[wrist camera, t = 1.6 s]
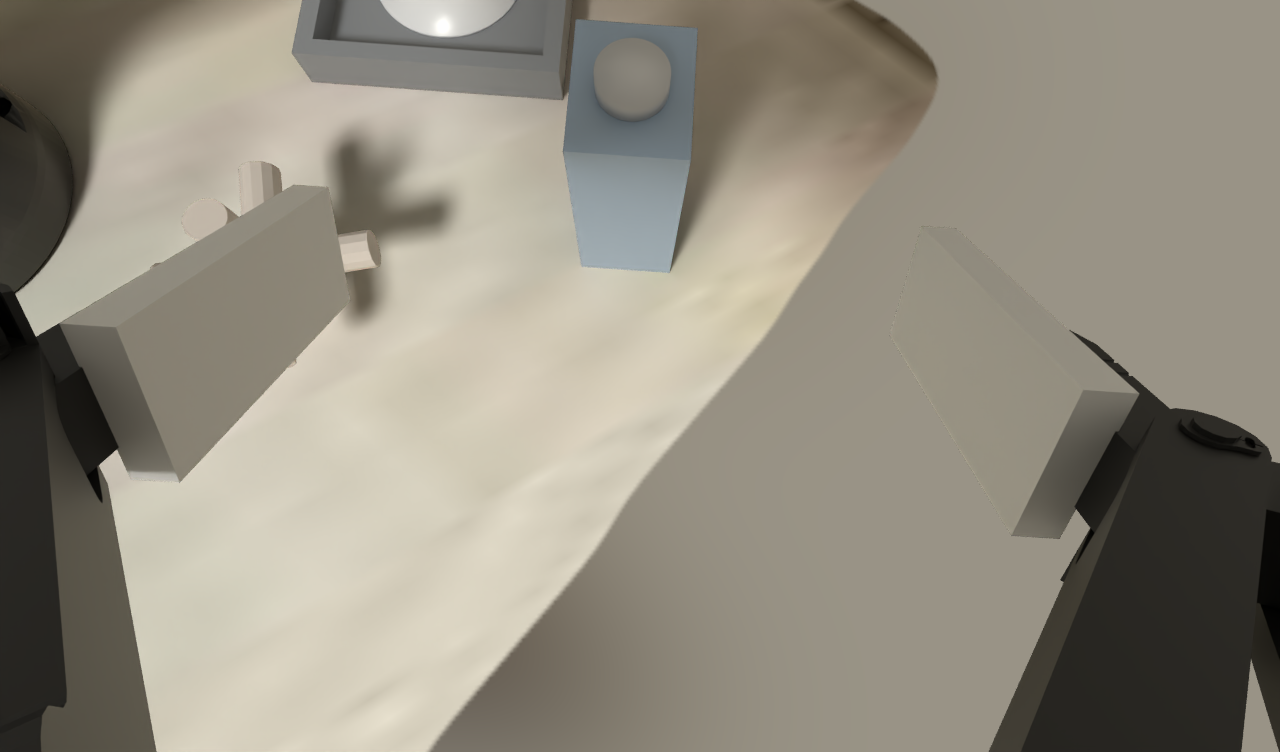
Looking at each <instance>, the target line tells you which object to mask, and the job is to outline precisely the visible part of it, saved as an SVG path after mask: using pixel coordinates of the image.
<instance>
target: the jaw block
mask: <svg viewBox="0 0 1280 752" xmlns="http://www.w3.org/2000/svg"><path fill="white" fill-rule="evenodd" d="M697 31H698V28H690V27H676V26H662V25H649V24H635V23H621V22H608V21H594V20H580V19H576V23H575V33H574V44H573V54H572V64H571V75H570V85H569V95H568V106H567V116H566V126H565V136H564V147H563V154H564V160H565V167H566V173H567V179H568V185H569V191H570V197H571V204H572V210H573V216H574V222H575V228H576V234H577V241H578V247H579V253H580V259H581V265H582V267H595V268H609V269H624V270H638V271H653V272H667V273H670V268H671V262H672V257H673V252H674V247H675V241H676V236H677V231H678V226H679V220H680V215H681V210H682V205H683V199H684V194H685V189H686V184H687V178H688V173H689V168H690V163H691V149H692V129H693V109H694V90H695V70H696V51H697Z"/></svg>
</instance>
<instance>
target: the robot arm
mask: <svg viewBox="0 0 1280 752" xmlns="http://www.w3.org/2000/svg"><path fill="white" fill-rule="evenodd" d="M71 197H72V170H71V164H70V159H69V156H68V152H67V150H66V147H65V145H64V142H63V141H62V139H61V137H60V135H59V133H58V132H57V130H56V129H55V127H54V126H53V125H52V124H51V122H50V121H49V120H48V119H47V118H46V117H45V116H44V115H43V114H42V113H41V112H40V111H38V110H37V109H36V108H35V107H33V106H32V105H31V104H29V103H28V102H26V101H25V100H23V99H22V98H20V97H19V96H18V95H16V94H15V93H13V92H12V91H10V90H9V89H8V88H6V87H5V86H3V85H2V84H0V752H156V747H155V741H154V736H153V730H152V725H151V719H150V714H149V708H148V703H147V697H146V692H145V686H144V681H143V675H142V670H141V664H140V659H139V653H138V648H137V642H136V637H135V631H134V626H133V620H132V615H131V609H130V604H129V598H128V593H127V587H126V582H125V576H124V571H123V565H122V560H121V554H120V549H119V543H118V538H117V532H116V527H115V521H114V516H113V510H112V505H111V499H110V494H109V488H108V484H107V482H106V480H105V478H104V476H103V474H102V471H101V469H100V467H99V465H100V464H101V463H102V462H103V461H104V460H105V459H106V458H107V457H109V456H110V455H111V454H112V453H113V452H114V451H115V450H116V449H117V450H118V452H119V454H120V457H121V459H122V461H123V463H124V465H125V467H126V470H127V472H128V474H129V476H130V478H131V479H132V480H148V481H164V482H179V483H180V482H181V481H182V480H183V479H184V477H185V476H186V475H187V474H188V473H189V472H190V471H191V470H192V469H193V468H194V467H195V466H196V465H197V464H198V463H199V461H200V460H201V459H202V458H203V457H204V456H205V455H206V454H207V453H208V452H209V451H210V450H211V449H212V448H213V447H214V445H215V444H216V443H217V442H218V441H219V440H220V439H221V438H222V437H223V436H224V435H225V434H226V433H227V432H228V431H229V429H230V428H231V427H232V426H233V425H234V424H235V423H236V422H237V421H238V420H239V419H240V418H241V417H242V416H243V415H244V413H245V412H246V411H247V410H248V409H249V408H250V407H251V406H252V405H253V404H254V403H255V402H256V401H257V400H258V399H259V397H260V396H261V395H262V394H263V393H264V392H265V391H266V390H267V389H268V388H269V387H270V386H271V385H272V384H273V383H274V381H275V380H276V379H277V378H278V377H279V376H280V375H281V374H282V373H283V372H284V371H285V370H286V369H287V368H288V367H289V365H290V364H291V363H292V362H293V361H294V360H295V359H296V358H297V357H298V356H299V355H300V354H301V353H302V352H303V350H304V349H305V348H306V347H307V346H308V345H309V344H310V343H311V342H312V341H313V340H314V339H315V338H316V337H317V336H318V334H319V333H320V332H321V331H322V330H323V329H324V328H325V327H326V326H327V325H328V324H329V323H330V322H331V321H332V320H333V318H334V317H335V316H336V315H337V314H338V313H339V312H340V311H341V310H342V309H343V308H344V307H345V306H346V305H347V304H348V302H349V301H350V296H349V291H348V286H347V280H346V275H345V270H344V265H343V260H342V255H341V249H340V244H339V239H338V234H337V229H336V224H335V218H334V213H333V208H332V203H331V198H330V193H329V188H328V187H320V186H305V185H292V186H291V187H289V188H287V189H286V190H284V191H282V192H281V193H279V194H277V195H275V196H274V197H272V198H270V199H269V200H267V201H265V202H264V203H262V204H260V205H259V206H257V207H255V208H254V209H252V210H250V211H248V212H247V213H245V214H243V215H242V216H240V217H238V218H237V219H235V220H233V221H232V222H230V223H228V224H226V225H225V226H223V227H221V228H220V229H218V230H216V231H215V232H213V233H211V234H210V235H208V236H206V237H204V238H203V239H201V240H199V241H198V242H196V243H194V244H193V245H191V246H189V247H188V248H186V249H184V250H183V251H181V252H179V253H177V254H176V255H174V256H172V257H171V258H169V259H167V260H166V261H164V262H162V263H161V264H159V265H157V266H155V267H154V268H152V269H150V270H149V271H147V272H145V273H144V274H142V275H140V276H139V277H137V278H135V279H133V280H132V281H130V282H128V283H126V284H125V285H123V286H121V287H120V288H118V289H116V290H115V291H113V292H111V293H110V294H108V295H106V296H105V297H103V298H101V299H99V300H98V301H96V302H94V303H93V304H91V305H89V306H88V307H86V308H84V309H83V310H81V311H79V312H77V313H76V314H74V315H72V316H71V317H69V318H67V319H66V320H64V321H62V322H61V323H59V324H57V325H55V326H54V327H52V328H50V329H49V330H47V331H45V332H44V333H42V334H40V335H39V336H37V337H36V336H35V334H34V332H33V330H32V328H31V326H30V324H29V322H28V320H27V318H26V316H25V314H24V312H23V310H22V308H21V306H20V304H19V302H18V299H17V297H16V295H15V293H14V292H15V291H16V290H17V289H19V288H20V287H21V286H22V285H23V284H24V283H25V282H26V281H27V280H28V279H29V278H30V277H31V276H32V275H33V274H34V273H35V272H36V271H37V270H38V268H39V267H40V266H41V265H42V264H43V262H44V261H45V260H46V258H47V257H48V255H49V254H50V252H51V251H52V249H53V248H54V246H55V244H56V242H57V241H58V239H59V236H60V234H61V232H62V230H63V227H64V225H65V222H66V219H67V216H68V213H69V208H70V204H71ZM890 337H891V339H892V340H893V342H894V344H895V345H896V347H897V349H898V351H899V352H900V354H901V355H902V357H903V359H904V360H905V362H906V364H907V365H908V367H909V369H910V370H911V372H912V373H913V375H914V377H915V378H916V380H917V382H918V383H919V385H920V387H921V388H922V390H923V392H924V393H925V394H926V397H927V398H928V400H929V401H930V403H931V405H932V406H933V408H934V410H935V411H936V413H937V415H938V416H939V418H940V419H941V421H942V423H943V424H944V426H945V428H946V429H947V431H948V432H949V434H950V436H951V438H952V439H953V441H954V442H955V444H956V446H957V447H958V449H959V451H960V452H961V454H962V456H963V457H964V459H965V461H966V462H967V464H968V465H969V467H970V469H971V470H972V472H973V474H974V475H975V477H976V479H977V480H978V482H979V484H980V485H981V487H982V488H983V490H984V492H985V493H986V495H987V497H988V498H989V500H990V502H991V503H992V505H993V506H994V508H995V510H996V512H997V513H998V515H999V516H1000V518H1001V520H1002V521H1003V523H1004V525H1005V526H1006V528H1007V530H1008V531H1009V533H1010V534H1011V536H1022V537H1038V538H1053V539H1060V537H1061V535H1062V534H1063V531H1064V530H1065V528H1066V526H1067V524H1068V523H1069V521H1070V519H1071V517H1072V515H1073V514H1074V512H1075V510H1076V509H1077V511H1078V512H1079V513H1080V515H1081V516H1082V517H1083V519H1084V520H1085V521H1086V523H1087V524H1088V525H1089V526H1090V530H1089V531H1088V533H1087V535H1086V536H1085V538H1084V540H1083V542H1082V543H1081V545H1080V547H1079V549H1078V550H1077V552H1076V554H1075V556H1074V557H1073V559H1072V561H1071V562H1070V564H1069V566H1068V568H1067V569H1066V571H1065V573H1064V574H1063V576H1062V578H1061V581H1063V582H1064V583H1063V586H1062V588H1061V590H1060V592H1059V594H1058V597H1057V599H1056V601H1055V604H1054V606H1053V608H1052V610H1051V613H1050V615H1049V617H1048V619H1047V621H1046V624H1045V626H1044V628H1043V631H1042V633H1041V635H1040V637H1039V639H1038V642H1037V644H1036V646H1035V648H1034V651H1033V653H1032V655H1031V657H1030V660H1029V662H1028V664H1027V666H1026V669H1025V671H1024V673H1023V675H1022V678H1021V680H1020V682H1019V684H1018V687H1017V689H1016V691H1015V694H1014V696H1013V698H1012V700H1011V703H1010V705H1009V707H1008V709H1007V711H1006V714H1005V716H1004V718H1003V720H1002V723H1001V725H1000V727H999V729H998V732H997V734H996V736H995V738H994V741H993V743H992V745H991V747H990V750H989V752H1241V749H1242V739H1243V729H1244V719H1245V709H1246V700H1247V691H1248V681H1249V671H1250V662H1251V660H1252V663H1253V666H1254V670H1255V673H1256V676H1257V680H1258V683H1259V686H1260V690H1261V693H1262V696H1263V700H1264V703H1265V706H1266V710H1267V713H1268V716H1269V719H1270V723H1271V726H1272V729H1273V733H1274V736H1275V739H1276V742H1277V746H1278V749H1279V752H1280V463H1276V462H1271V459H1272V457H1271V455H1270V452H1269V449H1268V448H1267V446H1265V445H1264V444H1263V443H1262V442H1261V441H1260V440H1259V439H1258V438H1257V437H1256V436H1254V435H1252V434H1251V433H1249V432H1247V431H1246V430H1244V429H1242V428H1241V427H1239V426H1237V425H1235V424H1233V423H1230V422H1228V421H1225V420H1223V419H1221V418H1218V417H1215V416H1212V415H1208V414H1205V413H1202V412H1198V411H1194V410H1186V409H1177V408H1175V409H1169V408H1168V407H1167V406H1166V405H1165V404H1164V403H1163V402H1161V401H1160V400H1159V399H1158V398H1157V397H1155V395H1153V394H1152V393H1151V392H1150V391H1149V390H1148V389H1147V388H1145V387H1144V386H1143V385H1142V384H1141V383H1140V382H1139V381H1137V380H1136V379H1135V378H1134V377H1133V376H1129V375H1128V374H1129V373H1128V372H1127V371H1126V370H1125V369H1124V368H1123V367H1122V366H1120V365H1119V364H1118V363H1114V360H1113V359H1112V358H1111V357H1110V356H1109V355H1108V354H1107V353H1106V352H1104V351H1103V350H1102V349H1101V348H1100V347H1099V346H1098V345H1096V344H1095V343H1093V342H1091V341H1089V340H1087V339H1085V338H1083V337H1081V336H1080V335H1078V334H1076V333H1074V332H1072V331H1071V330H1068V329H1067V328H1066V327H1065V326H1064V325H1063V324H1062V323H1061V322H1059V321H1058V320H1057V319H1056V318H1055V317H1054V316H1053V315H1052V314H1051V313H1049V312H1048V311H1047V310H1046V309H1045V308H1044V307H1043V306H1042V305H1040V304H1039V303H1038V302H1037V301H1036V300H1035V299H1034V298H1033V297H1032V296H1031V295H1029V294H1028V293H1027V292H1026V291H1025V290H1024V289H1023V288H1022V287H1020V286H1019V285H1018V284H1017V283H1016V282H1015V281H1014V280H1013V279H1012V278H1011V277H1009V276H1008V275H1007V274H1006V273H1005V272H1004V271H1003V270H1002V269H1001V268H999V267H998V266H997V265H996V264H995V263H994V262H993V261H992V260H990V259H989V258H988V257H987V256H986V255H985V254H984V253H983V252H982V251H981V250H979V249H978V248H977V247H976V246H975V245H974V244H973V243H972V242H971V241H969V240H968V239H967V238H966V237H965V236H964V235H963V234H962V233H961V232H959V231H958V230H957V229H956V228H944V227H929V226H921V229H920V233H919V236H918V240H917V243H916V247H915V250H914V253H913V257H912V260H911V263H910V267H909V270H908V274H907V277H906V281H905V284H904V287H903V291H902V295H901V298H900V301H899V305H898V308H897V311H896V315H895V318H894V322H893V325H892V329H891V332H890Z"/></svg>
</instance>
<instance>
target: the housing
mask: <svg viewBox="0 0 1280 752" xmlns="http://www.w3.org/2000/svg"><path fill="white" fill-rule="evenodd" d="M572 1H573V0H302V4H301V9H300V14H299V19H298V24H297V29H296V34H295V39H294V44H293V49H292V54H293V56H294V57H295V58H296V60H297V61H298V63H299V64H300V65H301V67H302V68H303V70H304V71H305V73H306V74H307V75H308V77H309V78H310V80H311V81H312V82H321V83H335V84H348V85H362V86H376V87H390V88H404V89H418V90H432V91H446V92H460V93H473V94H487V95H501V96H515V97H529V98H543V99H557V100H563V92H564V82H565V72H566V62H567V51H568V41H569V31H570V21H571V11H572Z"/></svg>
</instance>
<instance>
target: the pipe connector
mask: <svg viewBox="0 0 1280 752" xmlns="http://www.w3.org/2000/svg"><path fill="white" fill-rule="evenodd" d="M238 170H239V185H240V200H241V214H242V215H243V214H245V213H247V212H248V211H250V210H252V209H254V208H255V207H257V206H259V205H260V204H262V203H264V202H265V201H267V200H269V199H270V198H272V197H274V196H275V195H277V194H279V193H281V192H282V182H281V173H280V170H279V168H277V167H276V166H274V165H272V164H270V163H265V162H261V161H250V162H247V163H244V164H241V166H240V167H239V169H238ZM237 218H238V216H237V215H236V214H235V213H233V212H232V211H231V210H230V209H228V208H227V207H226V206H224V205H223V204H222V203H221V202H219V201H217V200H215V199H210V198H204V199H200V200H197V201H195V202H193V203H192V204H190V205H189V206H188V207H187V209H186V210H185V211H184V214H183V216H182V227H183V229H184V231H185V232H186V233H187V234H188V235H189V236H190V237H192V238H193V239H195V240H196V241H199V240H201V239H203V238H204V237H206V236H208V235H210V234H211V233H213V232H215V231H216V230H218V229H220V228H221V227H223V226H225V225H226V224H228V223H230V222H232V221H233V220H235V219H237ZM338 239H339V244H340V249H341V255H342V260H343V265H344V270H345V272H350V271H357V270H363V269H369V268H375V267H379V266H380V264H381V255H380V249H379V245H378V242H377V239H376V237H375V235H374V234H373V232H372V231H371V230H369V229H368V230H362V231H356V232H350V233H343V234H338ZM159 264H161V263H156V264H154V265H153V266H152V267H150V269H152V268H154V267H155V266H157V265H159ZM295 364H296V359H295V360H294V361H293V362H292V363H291V364H290V365H289V367H292V366H294V365H295ZM289 367H288V368H289Z"/></svg>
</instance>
